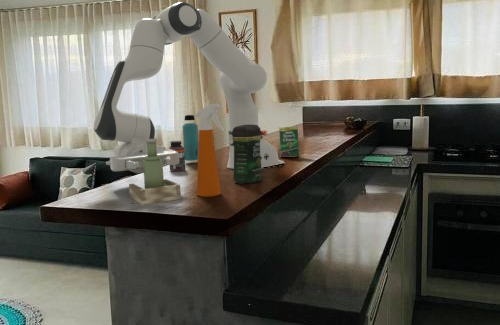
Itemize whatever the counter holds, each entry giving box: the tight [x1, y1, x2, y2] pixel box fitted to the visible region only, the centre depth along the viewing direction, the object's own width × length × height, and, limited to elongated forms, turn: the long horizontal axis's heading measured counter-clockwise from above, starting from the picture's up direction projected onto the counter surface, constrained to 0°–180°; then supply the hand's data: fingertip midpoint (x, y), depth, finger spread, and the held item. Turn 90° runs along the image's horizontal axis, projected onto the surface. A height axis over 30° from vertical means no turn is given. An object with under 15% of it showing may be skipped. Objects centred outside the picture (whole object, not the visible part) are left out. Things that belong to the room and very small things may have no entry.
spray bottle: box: [194, 103, 225, 198], centre depth 141 cm, size 7×11×26 cm, turn 49°
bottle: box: [143, 138, 165, 189], centre depth 140 cm, size 5×5×16 cm
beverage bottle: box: [182, 114, 199, 162], centre depth 204 cm, size 6×7×20 cm
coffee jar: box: [232, 124, 263, 185], centre depth 159 cm, size 10×8×19 cm
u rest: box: [128, 178, 182, 206], centre depth 141 cm, size 11×11×4 cm
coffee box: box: [278, 126, 300, 157], centre depth 209 cm, size 8×3×13 cm, turn 86°
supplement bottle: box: [168, 140, 186, 173], centre depth 187 cm, size 6×6×11 cm
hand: (153, 163), depth 140 cm, fingers open, 8 cm apart
